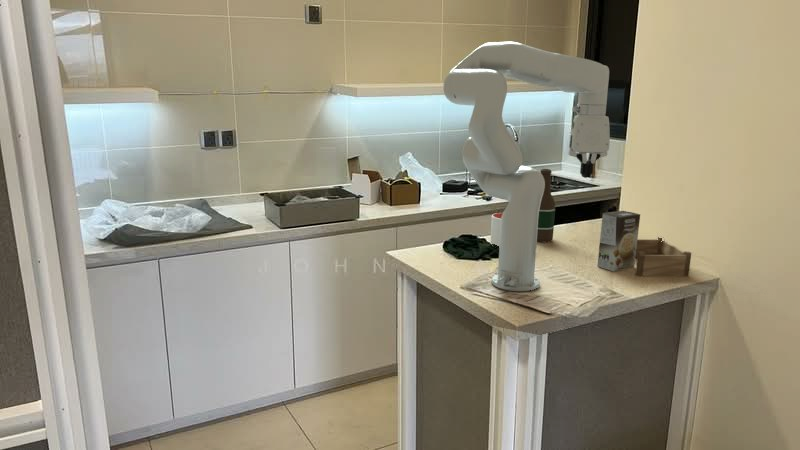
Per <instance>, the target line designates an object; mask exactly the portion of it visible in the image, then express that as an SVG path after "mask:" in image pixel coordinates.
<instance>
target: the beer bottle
mask: <svg viewBox="0 0 800 450" xmlns="http://www.w3.org/2000/svg"><path fill="white" fill-rule="evenodd" d="M539 172H540V173H541V174H542V175H543V177H544V181H545V188H544V193H543V196H542V200H541V204H540V209H539V216H538V230H537V241H538V242H537V243H549V242H548V241H550V242H552V241H553V239H554V238H553V237H554V230H555V229H554V228H555V216H556V215H555V214H556V202H555V198H554V196H553V195H552V192H551V191H552V190H551V189H552V188H551V186H552V184H551V182H552V181H551V179H552V178H551V176H552V175H551V174H552V169H549V168H542V169H540V170H539ZM551 240H552V241H551Z"/></svg>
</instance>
